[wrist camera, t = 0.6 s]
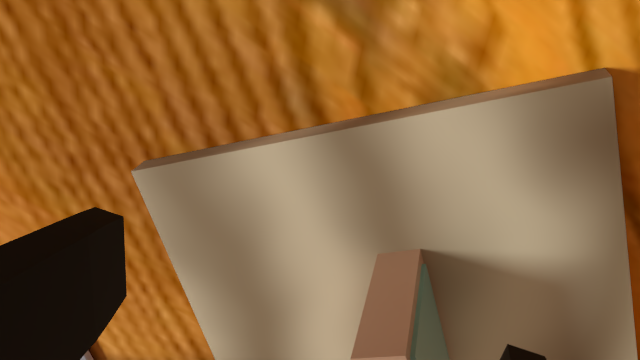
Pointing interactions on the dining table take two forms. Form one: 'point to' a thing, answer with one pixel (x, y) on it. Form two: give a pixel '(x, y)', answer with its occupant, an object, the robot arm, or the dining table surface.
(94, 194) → the dining table surface
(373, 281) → the block
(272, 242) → the board
